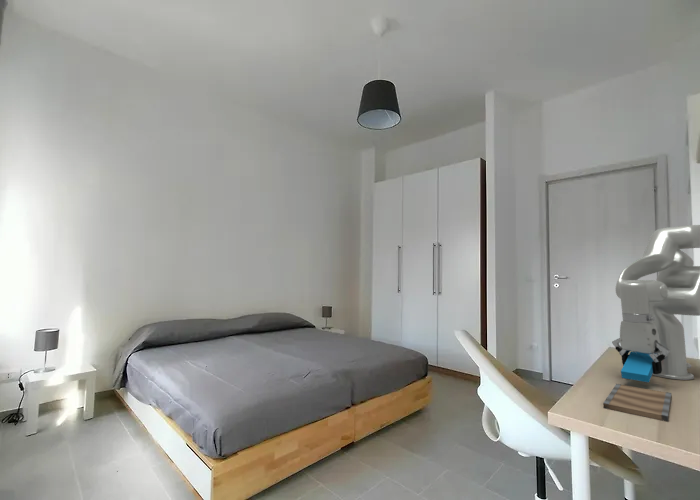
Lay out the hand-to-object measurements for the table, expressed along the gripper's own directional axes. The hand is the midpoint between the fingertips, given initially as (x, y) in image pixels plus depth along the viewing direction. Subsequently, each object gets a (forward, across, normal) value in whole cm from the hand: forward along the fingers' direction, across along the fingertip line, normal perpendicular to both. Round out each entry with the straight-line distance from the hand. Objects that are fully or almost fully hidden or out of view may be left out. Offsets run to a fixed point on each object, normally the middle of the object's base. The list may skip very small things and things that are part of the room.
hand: (641, 369), depth 117 cm
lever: (+2, 0, 0) cm, 2 cm away
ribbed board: (+3, -12, +23) cm, 26 cm away
